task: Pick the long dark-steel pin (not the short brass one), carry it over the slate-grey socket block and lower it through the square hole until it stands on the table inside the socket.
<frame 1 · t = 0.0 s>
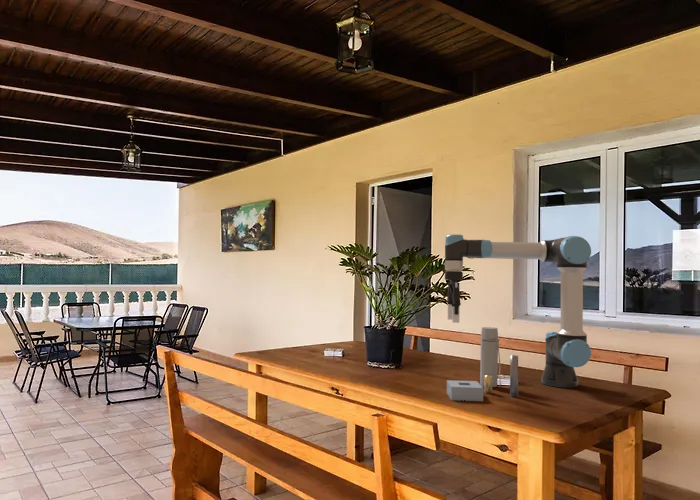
hand: (453, 321, 220), 28 cm above the table, fingers open, 13 cm apart
short pin: (488, 392, 211), on the table
socket block: (464, 396, 203), on the table
water bottle: (490, 386, 223), on the table
long pin: (514, 396, 205), on the table
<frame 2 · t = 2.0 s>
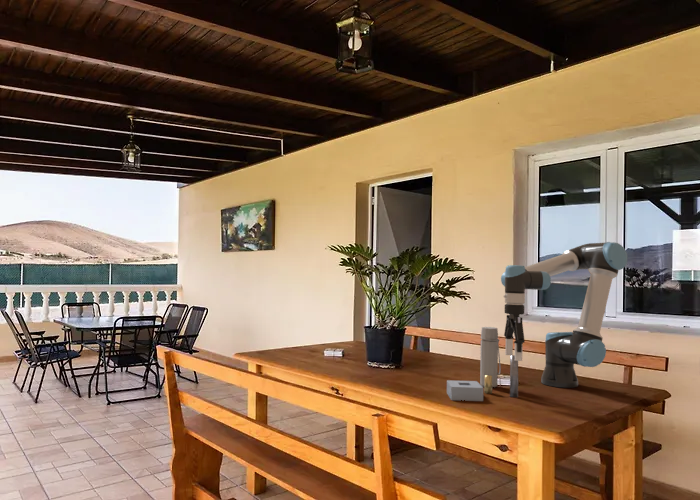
hand: (513, 357, 206), 15 cm above the table, fingers open, 13 cm apart
nothing on the table moved.
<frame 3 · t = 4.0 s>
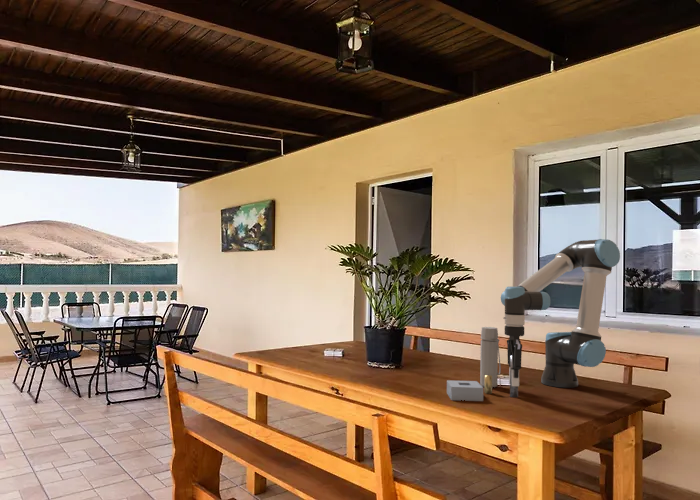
hand: (514, 384, 205), 5 cm above the table, fingers closed on long pin, 3 cm apart
long pin: (514, 396, 205), on the table, touching gripper
everything else where it was.
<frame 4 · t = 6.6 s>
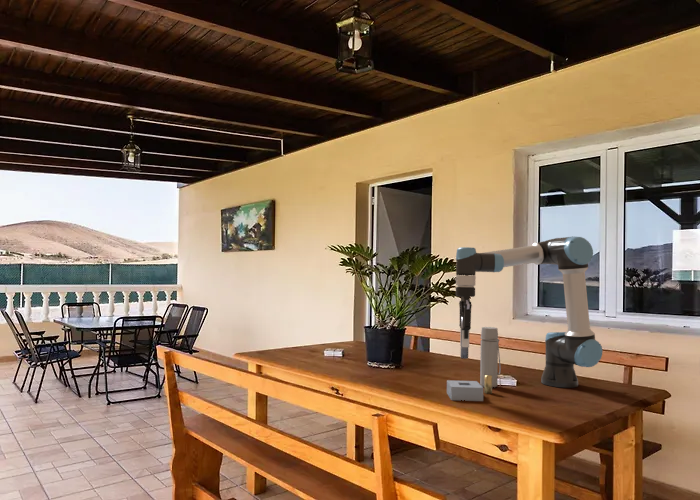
hand: (464, 346, 204), 20 cm above the table, fingers closed on long pin, 3 cm apart
long pin: (464, 357, 204), point 15 cm above the table, touching gripper
everything else where it was.
when the fingers open (6 cm above the table, at t = 9.1 s): long pin drops 1 cm, resting in socket block.
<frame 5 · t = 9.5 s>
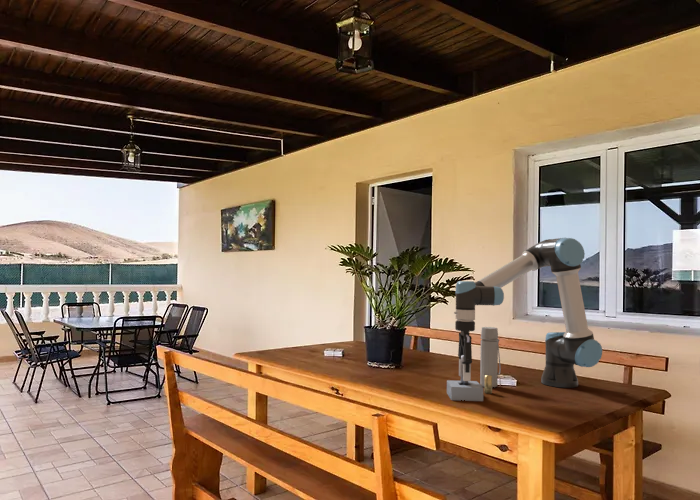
hand: (464, 378, 203), 7 cm above the table, fingers open, 9 cm apart
long pin: (464, 396, 203), resting in socket block
everything else where it was.
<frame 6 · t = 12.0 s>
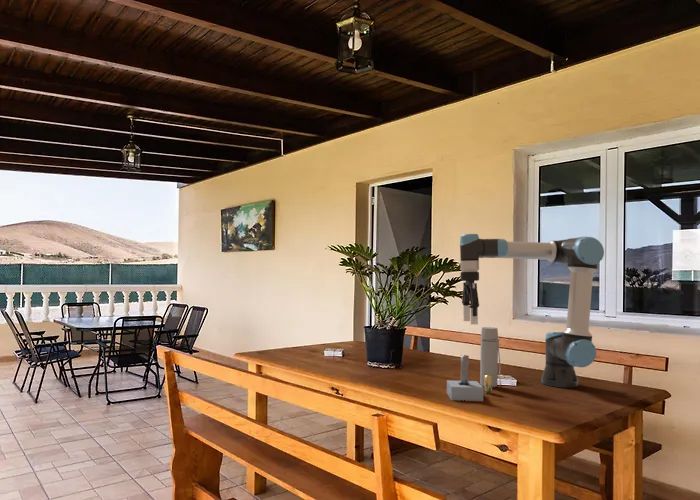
hand: (470, 322, 214), 28 cm above the table, fingers open, 13 cm apart
nothing on the table moved.
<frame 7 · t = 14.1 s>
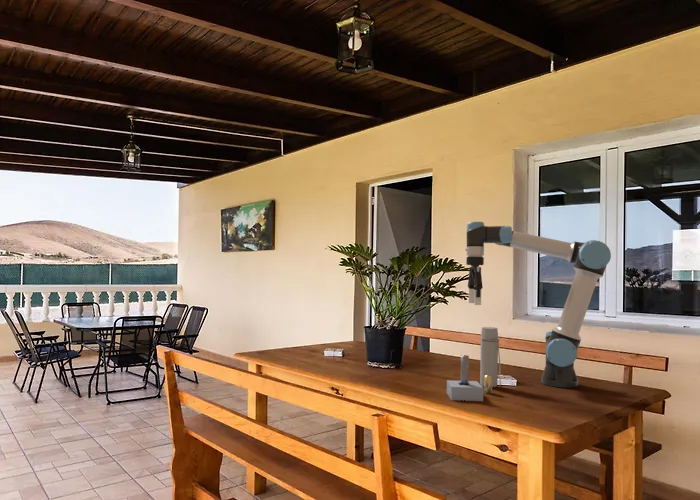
hand: (474, 304, 231), 35 cm above the table, fingers open, 13 cm apart
nothing on the table moved.
at the end: long pin 0.0 cm off-centre on the socket block, point 0.0 cm above the socket block's base; long pin tilted 0°; short pin moved 0.0 cm from its start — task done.
